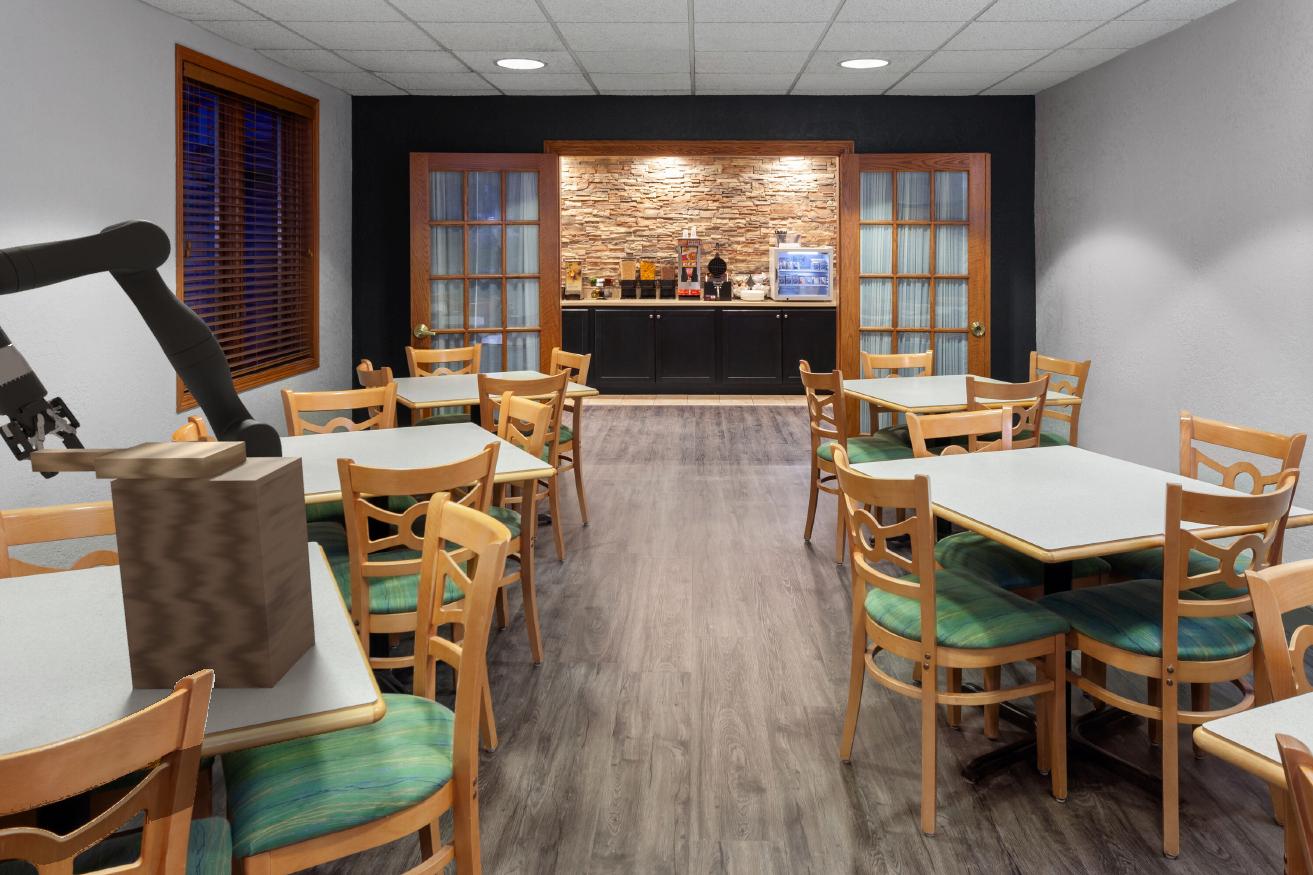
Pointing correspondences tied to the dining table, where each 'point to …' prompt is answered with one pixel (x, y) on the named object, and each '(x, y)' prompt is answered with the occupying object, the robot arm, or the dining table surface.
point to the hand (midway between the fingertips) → (67, 466)
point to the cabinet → (215, 574)
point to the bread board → (144, 460)
